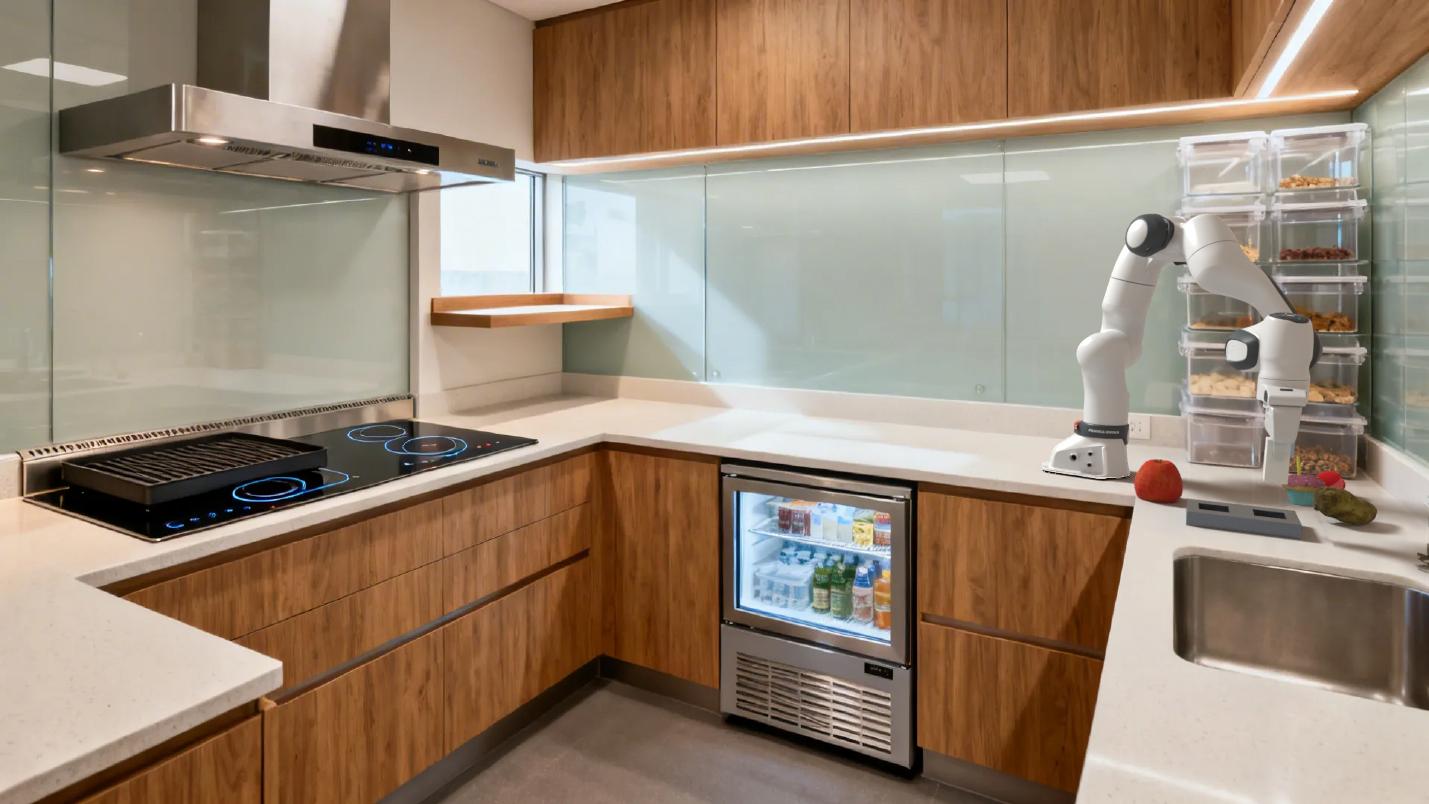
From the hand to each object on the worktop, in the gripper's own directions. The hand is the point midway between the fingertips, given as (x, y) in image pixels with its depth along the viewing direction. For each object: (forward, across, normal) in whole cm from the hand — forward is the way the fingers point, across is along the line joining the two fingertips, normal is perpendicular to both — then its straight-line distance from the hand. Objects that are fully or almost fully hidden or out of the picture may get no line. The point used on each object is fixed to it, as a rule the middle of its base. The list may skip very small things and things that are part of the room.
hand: (1276, 458), depth 168 cm
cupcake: (+16, -30, +9) cm, 35 cm away
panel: (+16, 0, -5) cm, 17 cm away
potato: (+16, -15, +15) cm, 27 cm away
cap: (+16, -42, +15) cm, 47 cm away
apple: (+16, -15, -21) cm, 31 cm away
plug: (+5, 0, 0) cm, 5 cm away
